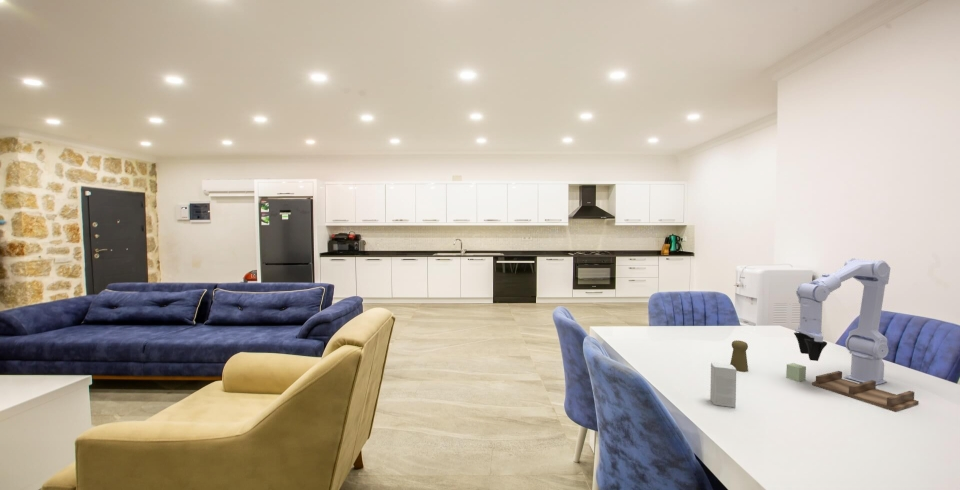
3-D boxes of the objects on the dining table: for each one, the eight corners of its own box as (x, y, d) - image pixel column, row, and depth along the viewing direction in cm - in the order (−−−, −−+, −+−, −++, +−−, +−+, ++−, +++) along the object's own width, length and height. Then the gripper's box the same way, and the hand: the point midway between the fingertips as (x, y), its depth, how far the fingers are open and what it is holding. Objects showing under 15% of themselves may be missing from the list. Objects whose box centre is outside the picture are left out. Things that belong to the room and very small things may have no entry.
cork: (751, 372, 143) (752, 344, 143) (733, 371, 144) (734, 342, 144) (743, 366, 149) (744, 339, 149) (726, 365, 150) (727, 338, 150)
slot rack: (834, 379, 137) (835, 369, 137) (918, 404, 118) (919, 393, 118) (812, 384, 132) (812, 375, 132) (895, 411, 113) (896, 400, 113)
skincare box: (731, 402, 118) (732, 364, 118) (735, 408, 114) (737, 369, 114) (709, 399, 120) (710, 362, 120) (712, 405, 116) (714, 366, 116)
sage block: (792, 376, 140) (793, 362, 140) (805, 380, 137) (806, 366, 136) (786, 377, 139) (786, 364, 139) (798, 381, 135) (799, 368, 135)
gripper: (788, 312, 139) (787, 349, 139) (804, 321, 126) (802, 361, 126) (812, 314, 136) (811, 351, 137) (831, 323, 123) (829, 364, 123)
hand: (809, 356), depth 131 cm, fingers open, 7 cm apart
